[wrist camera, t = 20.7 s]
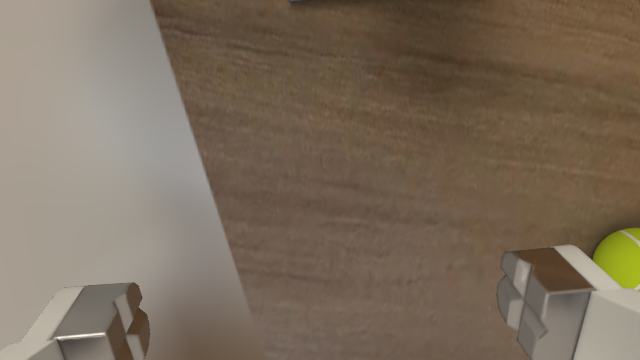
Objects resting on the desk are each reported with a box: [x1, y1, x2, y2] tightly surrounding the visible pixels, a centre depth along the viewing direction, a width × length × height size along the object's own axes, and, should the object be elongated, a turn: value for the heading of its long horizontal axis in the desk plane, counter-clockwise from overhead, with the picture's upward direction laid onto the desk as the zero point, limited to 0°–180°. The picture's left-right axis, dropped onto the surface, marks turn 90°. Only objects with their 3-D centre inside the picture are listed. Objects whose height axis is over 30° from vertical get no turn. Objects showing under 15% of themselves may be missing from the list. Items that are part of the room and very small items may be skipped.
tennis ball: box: [592, 228, 640, 291], centre depth 38 cm, size 7×7×7 cm
